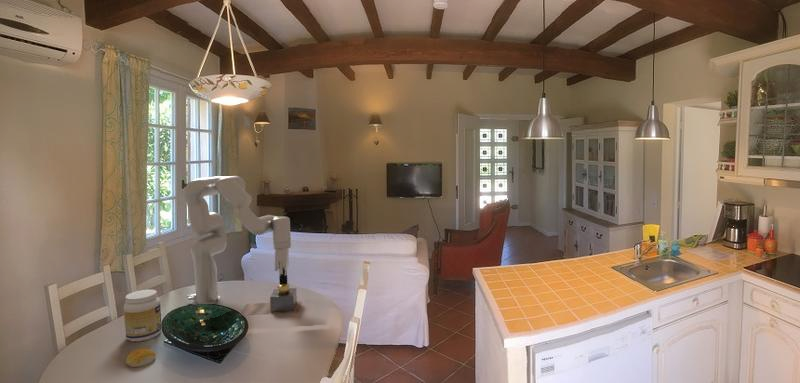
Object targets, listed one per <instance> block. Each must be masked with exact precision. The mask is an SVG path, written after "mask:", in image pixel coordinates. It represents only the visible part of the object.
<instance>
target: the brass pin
mask: <svg viewBox="0 0 800 383" xmlns="http://www.w3.org/2000/svg"><path fill="white" fill-rule="evenodd" d="M276 287H277V288H276V289H277V292H278V294H280V295H284V294H288V293H289V288H290V283H288V282H287V284H286V285H280V283H278V284H277V286H276Z"/></svg>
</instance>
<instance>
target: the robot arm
mask: <svg viewBox="0 0 800 383" xmlns="http://www.w3.org/2000/svg"><path fill="white" fill-rule="evenodd" d="M246 185H247V184H246V182H245V180H244V179H243V178H242V177H240V176H239V175H231V176H225V175H224V176H208V177H200V178H195V179H192V180H190V181H189V182H188V183H187V184H186V186H185V187H184V192H183V193H184V198H185V199H184V200H185V202H186V205H187V209H188V211H187V212H188V216H189V224H190V229H191V232H192V233H193V235H195V236H203V235H207V236H204V237H201V238H198V239H196V240H194V241H193V242H192V244H191V246H190V253H191V256H192V257H191V258H192V261H193V269H194V270H193V271H194V284H195V285H194V286H195V288H194V289H195V293H194V294H187V295H186V298H187V300H188V301H192V300H193V301H192V305H193V304H214V305H215V304H216V302H217V301H218V300H220V298H221V296H220V295H219V290H218V287H219V286H218V270H217V269H218V268H217V262H216V260H215V259H214V256H215V255H217V254H220V253H222V252H224V251H225V249H226V248H227V246H228V241H227V233H226V227H225V221H224V218H223V216H222V215H221V214H219V213H218V212H214V211H213V212H210V210H209V205H208V204H209V203H208V202H207V200H206V199H205V198H204V197H206V196H214V195H221V196H222V197H223V198H224V199H225V200H226V201H227V202H228V203H229V204H230V205H231V206H232V207H233V208H234V209H235V210H236V213H237V217H238V219H239V222H240V223H241V224H242V226H244V228H245V229H246V230H248V231H249V232H250V233H251V234H252V235H255V236H261V235H264V234H265V235H266V234H268V233H271V232H272V243H273V244H272V245H273V246H272V247H273V248H272V249H273V250H274V271H275V272H278V273H279V274H278V275H279V276H278V277H279V284H280V285H286V284H287V283H288V267H289V266H290V251H289V250H290V248H292V246H291V245H292V244H291V243H292V242H291V218H290V217H288V216H285V215H284V216H277V215H272V214H267V215H263V216H260V217H258V216H257V215H256V214H255V213H254V212H253V211H252V209H251V208H250V205H251V203H252V201H253V200H252V196H251V195H250V194H249V193H248V192H247V191H246V187H247V186H246Z"/></svg>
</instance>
